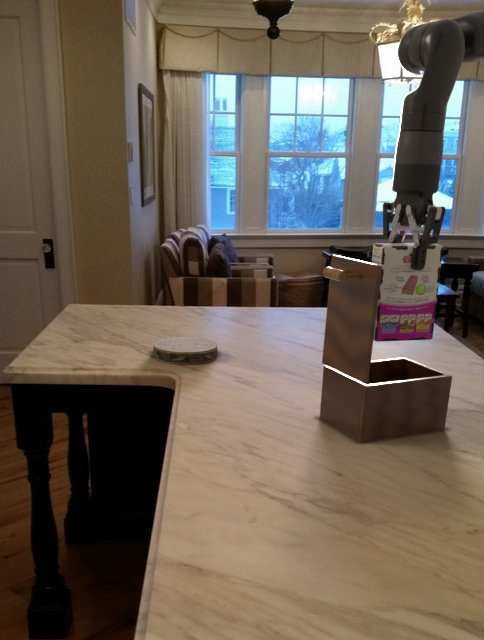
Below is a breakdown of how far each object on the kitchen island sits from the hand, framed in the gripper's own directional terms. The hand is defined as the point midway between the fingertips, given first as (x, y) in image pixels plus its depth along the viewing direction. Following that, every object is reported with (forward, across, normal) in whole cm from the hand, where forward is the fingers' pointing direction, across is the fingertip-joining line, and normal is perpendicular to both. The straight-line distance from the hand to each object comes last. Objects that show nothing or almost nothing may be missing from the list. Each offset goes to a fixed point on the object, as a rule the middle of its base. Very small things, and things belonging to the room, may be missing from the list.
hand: (406, 266), depth 122 cm
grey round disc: (+29, +60, +18) cm, 69 cm away
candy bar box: (+13, 0, 0) cm, 13 cm away
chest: (+29, 0, +2) cm, 29 cm away
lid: (+8, 0, +10) cm, 13 cm away
